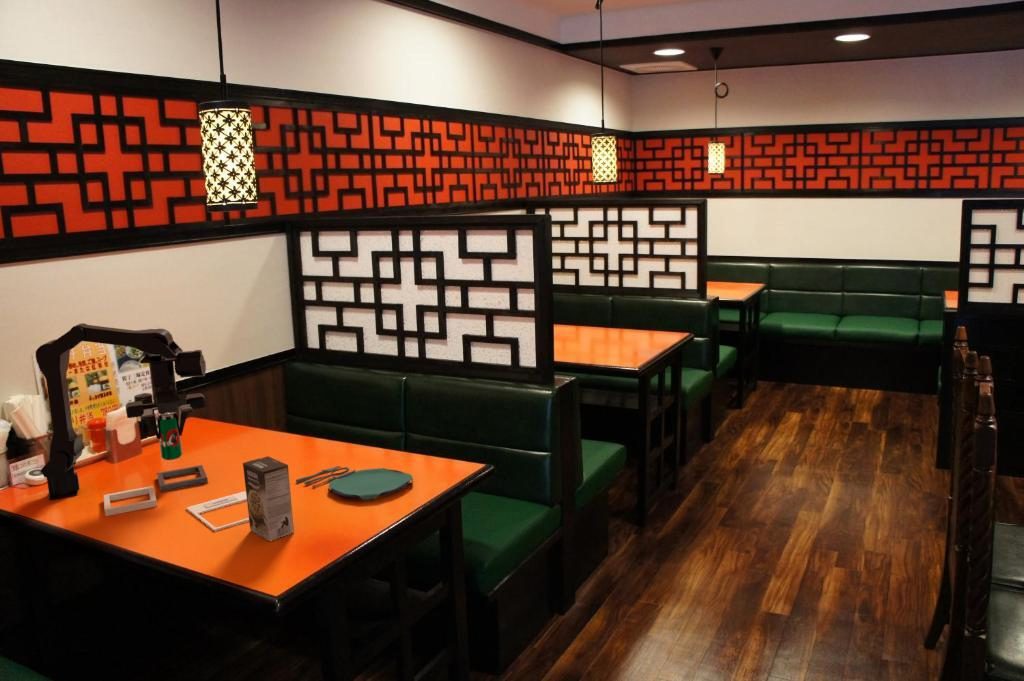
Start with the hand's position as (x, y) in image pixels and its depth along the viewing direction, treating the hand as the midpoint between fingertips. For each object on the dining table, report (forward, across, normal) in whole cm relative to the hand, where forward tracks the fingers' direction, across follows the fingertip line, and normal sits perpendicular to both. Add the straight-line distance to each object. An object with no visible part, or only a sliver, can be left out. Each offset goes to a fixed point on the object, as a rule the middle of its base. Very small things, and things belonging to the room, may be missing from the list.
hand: (169, 437), depth 214 cm
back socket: (+13, +2, +1) cm, 13 cm away
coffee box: (+12, +16, -46) cm, 50 cm away
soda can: (+6, 0, 0) cm, 6 cm away
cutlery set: (+13, +41, -27) cm, 51 cm away
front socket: (+13, -11, -9) cm, 19 cm away
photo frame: (+13, +10, -28) cm, 32 cm away
